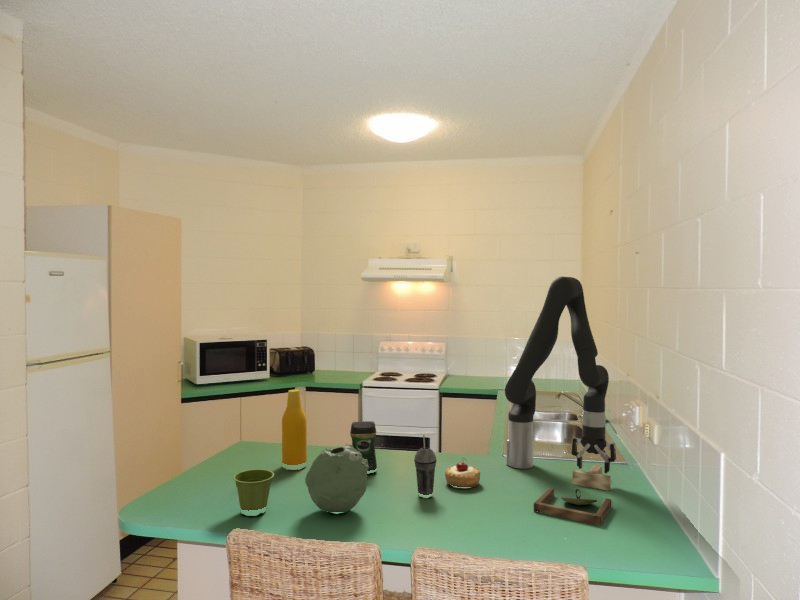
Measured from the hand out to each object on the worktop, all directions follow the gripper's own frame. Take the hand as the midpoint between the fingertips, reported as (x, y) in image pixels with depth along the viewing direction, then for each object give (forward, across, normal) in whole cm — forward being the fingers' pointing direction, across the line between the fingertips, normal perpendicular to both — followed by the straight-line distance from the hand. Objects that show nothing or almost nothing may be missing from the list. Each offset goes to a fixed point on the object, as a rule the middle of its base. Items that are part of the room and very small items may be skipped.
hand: (593, 470), depth 187 cm
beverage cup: (+5, -43, -41) cm, 60 cm away
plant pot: (+5, -80, -80) cm, 113 cm away
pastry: (+5, -37, -25) cm, 45 cm away
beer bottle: (+6, -99, -42) cm, 108 cm away
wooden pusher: (+4, 0, +1) cm, 4 cm away
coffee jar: (+5, -74, -33) cm, 81 cm away
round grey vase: (+5, -59, -67) cm, 89 cm away
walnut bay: (+4, 0, -26) cm, 27 cm away
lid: (+4, +1, -24) cm, 24 cm away
